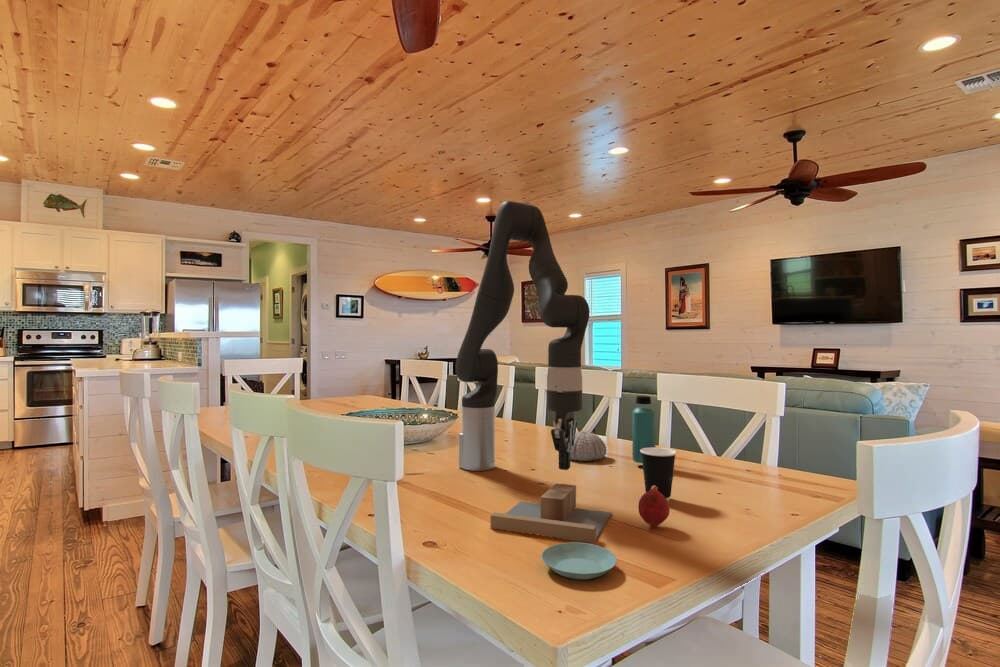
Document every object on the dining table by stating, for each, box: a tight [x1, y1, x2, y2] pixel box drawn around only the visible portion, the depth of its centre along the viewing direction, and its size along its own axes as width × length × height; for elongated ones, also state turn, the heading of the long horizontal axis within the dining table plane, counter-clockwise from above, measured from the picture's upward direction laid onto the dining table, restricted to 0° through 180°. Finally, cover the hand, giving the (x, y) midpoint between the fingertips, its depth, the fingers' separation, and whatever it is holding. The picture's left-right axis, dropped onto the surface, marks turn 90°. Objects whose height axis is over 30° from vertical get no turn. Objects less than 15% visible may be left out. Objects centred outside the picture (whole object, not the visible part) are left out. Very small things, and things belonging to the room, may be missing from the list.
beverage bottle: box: [631, 395, 657, 464], centre depth 155 cm, size 6×7×20 cm
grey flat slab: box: [490, 501, 612, 544], centre depth 109 cm, size 20×17×2 cm
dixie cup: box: [640, 447, 678, 502], centre depth 124 cm, size 8×8×11 cm
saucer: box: [540, 541, 618, 581], centre depth 87 cm, size 12×12×2 cm
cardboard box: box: [540, 482, 577, 521], centre depth 113 cm, size 4×4×11 cm
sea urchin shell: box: [570, 431, 608, 462], centre depth 165 cm, size 13×14×8 cm
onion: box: [637, 486, 671, 528], centre depth 106 cm, size 6×6×8 cm
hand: (564, 468), depth 117 cm, fingers closed
